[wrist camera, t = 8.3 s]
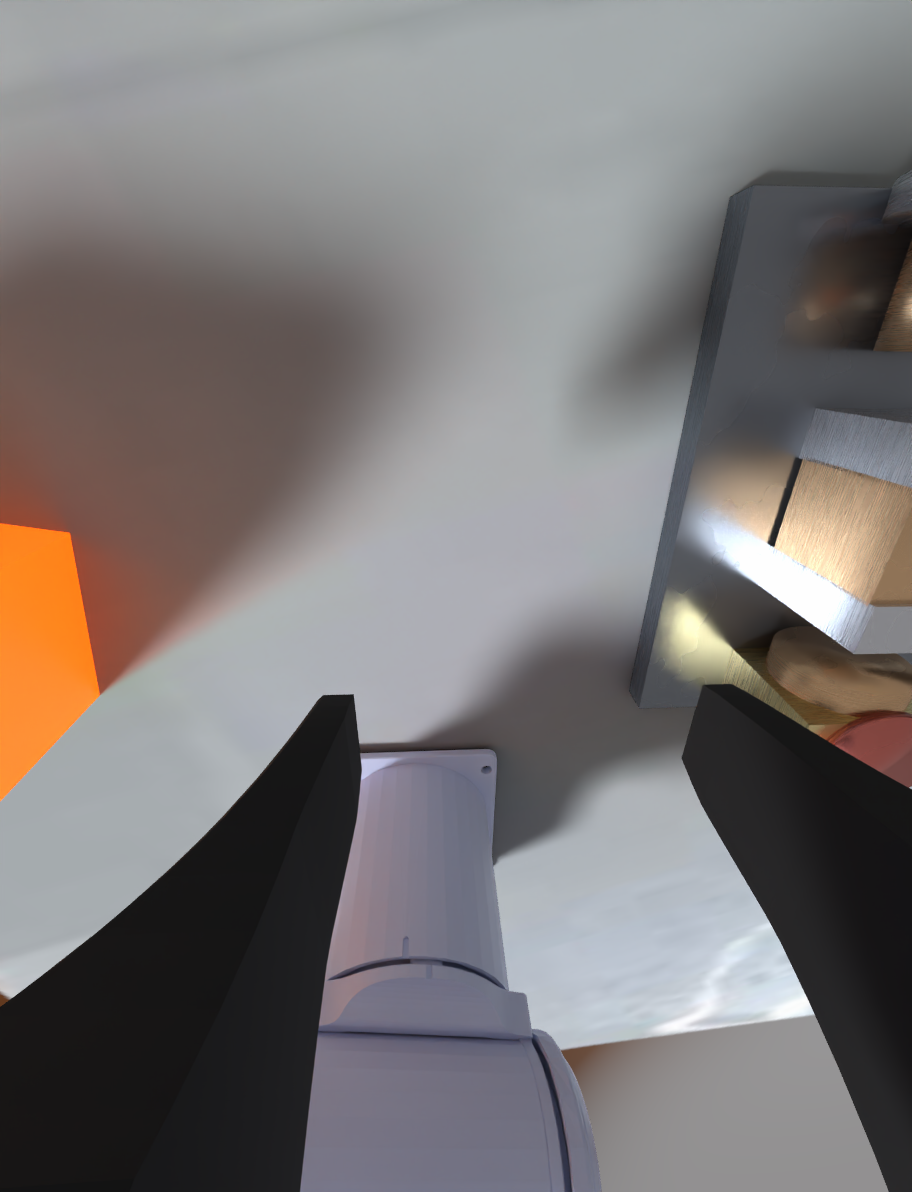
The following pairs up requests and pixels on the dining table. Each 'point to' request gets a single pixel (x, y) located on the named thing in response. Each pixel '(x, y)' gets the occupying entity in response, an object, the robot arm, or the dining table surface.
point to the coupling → (850, 531)
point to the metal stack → (781, 460)
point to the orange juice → (39, 647)
